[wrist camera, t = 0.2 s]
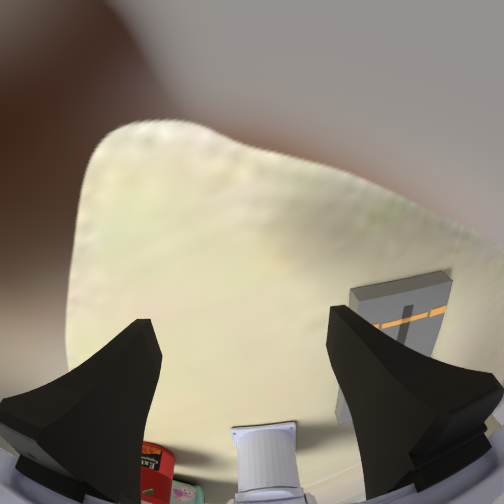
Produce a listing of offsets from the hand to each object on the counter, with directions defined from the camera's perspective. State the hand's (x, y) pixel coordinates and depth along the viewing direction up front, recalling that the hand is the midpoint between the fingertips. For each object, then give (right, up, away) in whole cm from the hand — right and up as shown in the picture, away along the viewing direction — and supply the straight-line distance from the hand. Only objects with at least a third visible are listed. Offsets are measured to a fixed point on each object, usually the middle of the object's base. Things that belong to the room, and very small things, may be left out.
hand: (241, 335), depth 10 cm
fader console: (+14, -7, +14) cm, 22 cm away
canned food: (-15, -28, +21) cm, 38 cm away
